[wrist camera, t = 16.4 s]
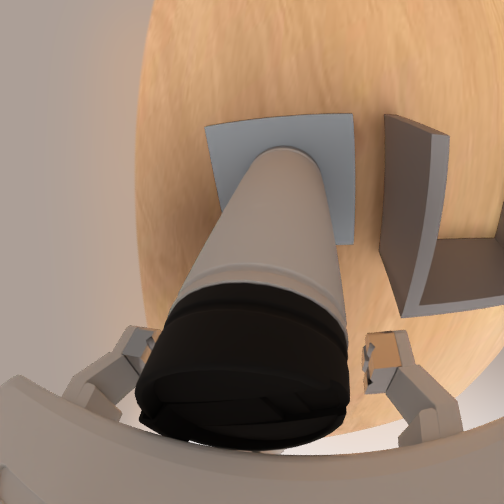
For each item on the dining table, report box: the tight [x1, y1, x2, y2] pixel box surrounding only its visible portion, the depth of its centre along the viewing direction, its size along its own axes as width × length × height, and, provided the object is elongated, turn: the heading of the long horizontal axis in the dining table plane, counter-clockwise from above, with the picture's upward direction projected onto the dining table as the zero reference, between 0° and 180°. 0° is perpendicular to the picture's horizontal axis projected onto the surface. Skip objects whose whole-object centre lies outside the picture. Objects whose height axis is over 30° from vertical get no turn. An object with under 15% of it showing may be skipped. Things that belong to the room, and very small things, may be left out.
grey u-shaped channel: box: [379, 114, 504, 318], centre depth 16 cm, size 13×16×9 cm
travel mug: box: [135, 146, 350, 451], centre depth 14 cm, size 6×7×20 cm
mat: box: [204, 113, 355, 245], centre depth 23 cm, size 12×12×1 cm
